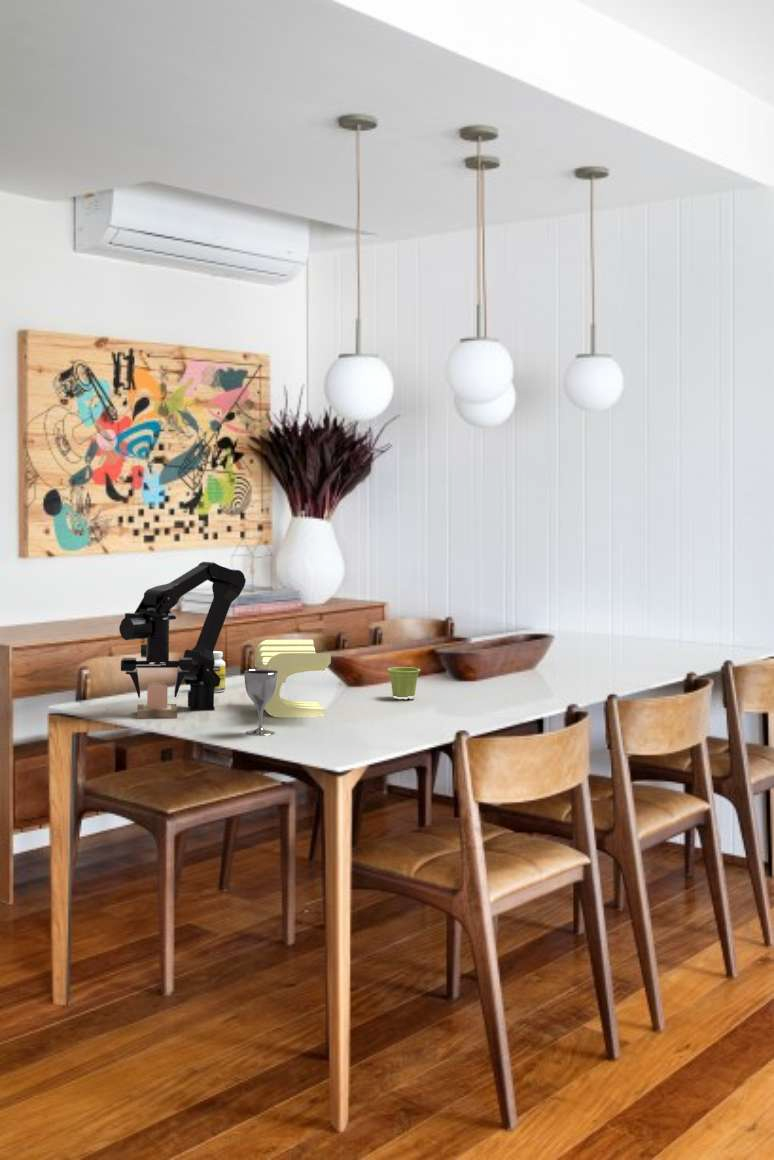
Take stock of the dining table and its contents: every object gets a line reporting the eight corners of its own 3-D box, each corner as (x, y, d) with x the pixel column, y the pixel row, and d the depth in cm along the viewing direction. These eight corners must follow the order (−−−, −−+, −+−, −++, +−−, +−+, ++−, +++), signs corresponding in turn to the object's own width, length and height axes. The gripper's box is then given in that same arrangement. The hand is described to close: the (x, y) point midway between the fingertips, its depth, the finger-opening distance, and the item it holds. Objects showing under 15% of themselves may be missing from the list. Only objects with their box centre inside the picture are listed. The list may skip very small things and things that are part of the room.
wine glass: (277, 730, 318) (278, 669, 317) (275, 736, 310) (276, 673, 309) (245, 729, 318) (245, 668, 317) (242, 735, 310) (243, 673, 309)
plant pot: (383, 700, 368) (384, 670, 367) (391, 695, 377) (392, 666, 376) (415, 702, 366) (416, 672, 365) (422, 697, 375) (423, 667, 374)
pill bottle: (204, 693, 374) (204, 653, 373) (201, 690, 380) (201, 650, 379) (226, 693, 376) (227, 653, 375) (223, 689, 382) (223, 650, 381)
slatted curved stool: (254, 704, 357) (255, 639, 356) (311, 703, 360) (312, 639, 359) (267, 723, 328) (268, 653, 327) (329, 722, 331) (330, 652, 330)
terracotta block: (166, 705, 339) (166, 682, 338) (167, 708, 334) (167, 685, 333) (147, 705, 338) (147, 682, 337) (147, 708, 333) (147, 685, 332)
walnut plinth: (175, 711, 342) (176, 703, 342) (177, 718, 332) (177, 709, 332) (137, 711, 340) (137, 703, 340) (137, 718, 330) (137, 710, 330)
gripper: (192, 634, 344) (192, 692, 345) (121, 634, 341) (120, 692, 342) (194, 638, 333) (194, 698, 334) (120, 638, 330) (120, 699, 331)
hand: (157, 697), depth 336 cm, fingers open, 9 cm apart
